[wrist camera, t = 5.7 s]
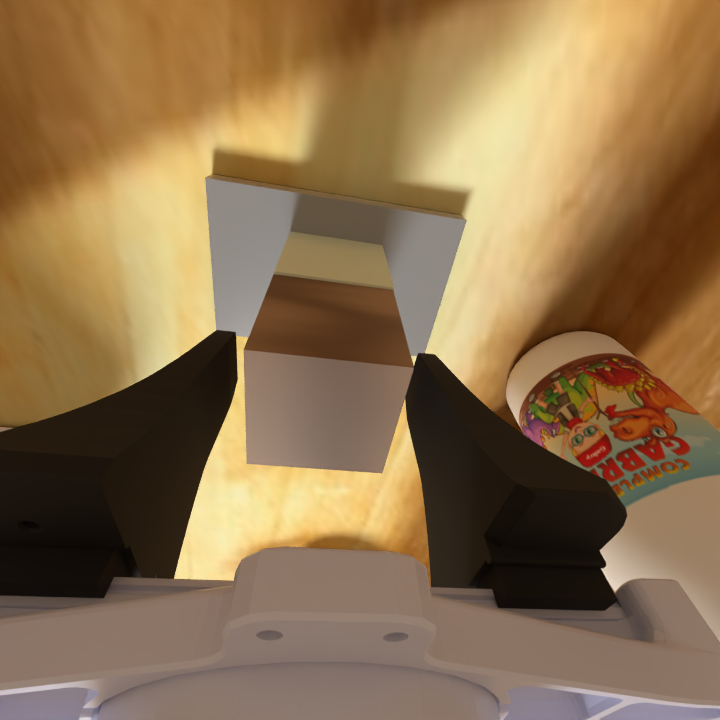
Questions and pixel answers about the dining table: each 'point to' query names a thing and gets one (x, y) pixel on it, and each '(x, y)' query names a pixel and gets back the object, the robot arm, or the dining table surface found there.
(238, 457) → the dining table surface
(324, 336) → the walnut block
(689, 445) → the milk bottle
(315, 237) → the sage block
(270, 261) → the plate
